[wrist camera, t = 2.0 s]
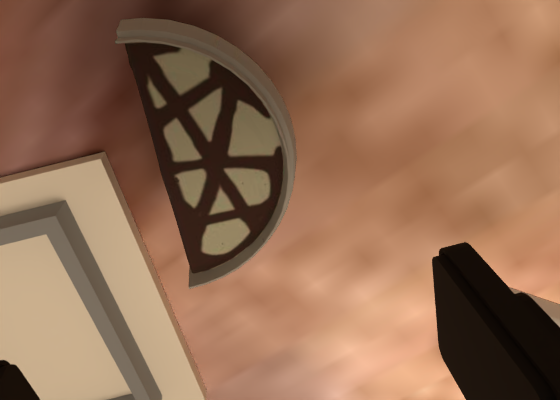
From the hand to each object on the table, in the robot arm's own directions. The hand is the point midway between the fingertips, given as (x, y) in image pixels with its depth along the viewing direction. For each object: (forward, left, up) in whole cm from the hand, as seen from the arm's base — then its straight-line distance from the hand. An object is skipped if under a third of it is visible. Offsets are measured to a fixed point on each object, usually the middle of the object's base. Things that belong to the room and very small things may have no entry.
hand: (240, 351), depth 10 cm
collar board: (+12, -17, -20) cm, 29 cm away
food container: (0, 0, -20) cm, 20 cm away
